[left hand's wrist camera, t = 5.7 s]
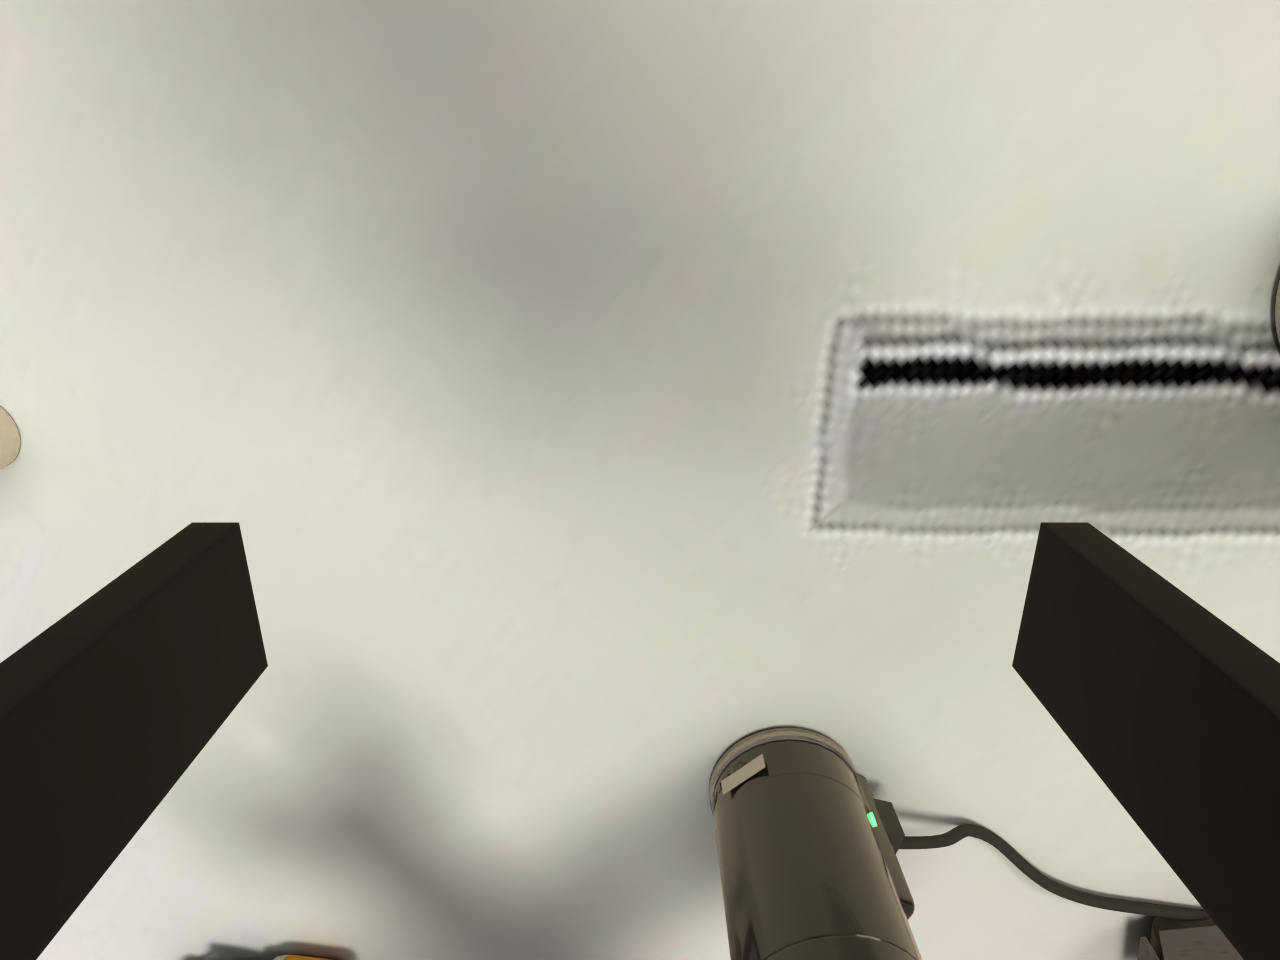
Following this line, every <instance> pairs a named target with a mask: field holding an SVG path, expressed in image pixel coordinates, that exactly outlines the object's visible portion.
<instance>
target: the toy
mask: <svg viewBox="0 0 1280 960" xmlns="http://www.w3.org/2000/svg"><path fill="white" fill-rule="evenodd" d="M1138 960H1244V959H1243V958H1242V957H1241V955H1240V954H1239V953H1238V952H1237V950H1236V949H1235V948H1234V947H1233V945H1232V944H1231V943H1230V942H1229V940H1228V939H1227V938H1226V936H1225V935H1224V934H1223V933H1222V931H1221V930H1220V929H1219V928H1218V926H1217V925H1216V924H1215V922H1214V921H1213V920H1212V919H1211V918H1210V919H1207V920H1199V921H1188V920H1179V919H1171V918H1165V917H1157V916H1156V917H1155V918H1154V920H1153V923H1152V930H1151V938H1150V943H1149V941H1148V940H1147V938H1146V936H1145V937H1140V944H1139V952H1138Z"/></svg>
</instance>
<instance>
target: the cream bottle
mask: <svg viewBox="0 0 1280 960" xmlns="http://www.w3.org/2000/svg"><path fill="white" fill-rule="evenodd" d="M19 449H20V435H19V432H18V429H17V427H16V424H15V423H14V421H13V420H12V418H11V417H10V416H9V414H8V413H7V412H6V411H5V410H4V409H2V408H1V407H0V469H1V468H3V467H5V466H7V465H9V464H10V463H12V462H13V461H14V459H15V458H16V457H17V455H18V453H19Z"/></svg>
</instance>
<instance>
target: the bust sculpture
mask: <svg viewBox="0 0 1280 960" xmlns="http://www.w3.org/2000/svg"><path fill="white" fill-rule="evenodd" d="M1275 322H1276V331H1277V336H1278V340H1279V343H1280V281H1279V285H1278V290H1277V296H1276V305H1275Z"/></svg>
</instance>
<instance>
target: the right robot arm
mask: <svg viewBox="0 0 1280 960" xmlns="http://www.w3.org/2000/svg"><path fill="white" fill-rule="evenodd" d="M709 791H710V802H711V809H712V813H713V816H714V822H715V831H716V840H717V849H718V858H719V866H720V874H721V882H722V891H723V899H724V907H725V916H726V924H727V932H728V941H729V949H730V957H731V960H922V958H921V955H920V953H919V950H918V947H917V945H916V942H915V939H914V936H913V934H912V931H911V928H910V925H909V923H908V919H909V918H910V917H911V916H912V914H913V912H914V901H913V898H912V896H911V893H910V891H909V888H908V885H907V883H906V880H905V878H904V875H903V873H902V870H901V867H900V865H899V862H898V860H897V857H896V853H897V851H898V849H929V848H940V847H946V846H950V845H952V844H955V843H956V842H958V841H960V840H961V839H963V838H965V837H967V836H971V837H975V838H979V839H981V840H984V841H986V842H988V843H989V844H991V845H993V846H994V847H995V848H997V849H998V850H999V851H1000V852H1001V853H1002V854H1004V855H1005V856H1006V857H1007V858H1008V859H1009V860H1010V861H1011V862H1012V863H1013V864H1014V865H1015V866H1016V867H1017V868H1019V869H1020V870H1021V871H1022V872H1023V873H1024V874H1025V875H1027V876H1028V877H1029V878H1030V879H1031V880H1033V881H1034V882H1036V883H1037V884H1038V885H1040V886H1041V887H1043V888H1045V889H1046V890H1048V891H1050V892H1052V893H1054V894H1056V895H1058V896H1061V897H1063V898H1066V899H1069V900H1072V901H1075V902H1078V903H1081V904H1085V905H1088V906H1093V907H1097V908H1102V909H1107V910H1113V911H1120V912H1127V913H1135V914H1142V915H1150V916H1157V917H1165V918H1171V919H1179V920H1188V921H1199V920H1207V919H1210V918H1211V917H1210V916H1209V915H1208V914H1207V912H1206V911H1201V910H1193V909H1185V908H1177V907H1170V906H1163V905H1156V904H1149V903H1141V902H1134V901H1126V900H1119V899H1112V898H1107V897H1101V896H1096V895H1092V894H1088V893H1084V892H1081V891H1077V890H1074V889H1071V888H1069V887H1066V886H1063V885H1061V884H1059V883H1056V882H1054V881H1052V880H1050V879H1049V878H1047V877H1045V876H1044V875H1042V874H1041V873H1040V872H1038V871H1037V870H1036V869H1035V868H1033V867H1032V866H1031V865H1030V864H1029V863H1028V862H1027V861H1026V860H1024V859H1023V858H1022V857H1021V856H1020V855H1019V854H1018V853H1017V852H1016V851H1015V850H1014V849H1013V848H1012V847H1011V846H1009V845H1008V844H1007V843H1006V842H1005V841H1004V840H1002V839H1001V838H1000V837H998V836H997V835H995V834H994V833H992V832H991V831H989V830H987V829H984V828H982V827H979V826H976V825H972V824H965V825H960V826H957V827H955V828H954V829H952V830H950V831H949V832H947V833H944V834H941V835H934V836H905V834H904V832H903V830H902V827H901V825H900V822H899V820H898V817H897V815H896V813H895V810H894V808H893V805H892V803H891V802H887V801H882V800H877V799H874V798H873V795H872V792H871V790H870V787H869V785H868V782H867V780H866V779H865V778H863V777H861V776H859V775H857V774H856V773H855V770H854V768H853V765H852V763H851V761H850V759H849V757H848V756H847V754H846V753H845V752H844V751H843V749H842V748H841V747H840V746H838V745H837V744H836V743H835V742H833V741H832V740H830V739H829V738H827V737H825V736H823V735H821V734H818V733H816V732H813V731H809V730H805V729H798V728H776V729H770V730H765V731H762V732H758V733H755V734H753V735H750V736H748V737H746V738H744V739H743V740H741V741H739V742H738V743H736V744H735V745H733V746H732V747H731V748H730V749H729V750H728V751H727V752H726V753H725V754H724V755H723V756H722V757H721V759H720V760H719V761H718V763H717V764H716V766H715V768H714V770H713V773H712V776H711V780H710V787H709Z"/></svg>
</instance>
